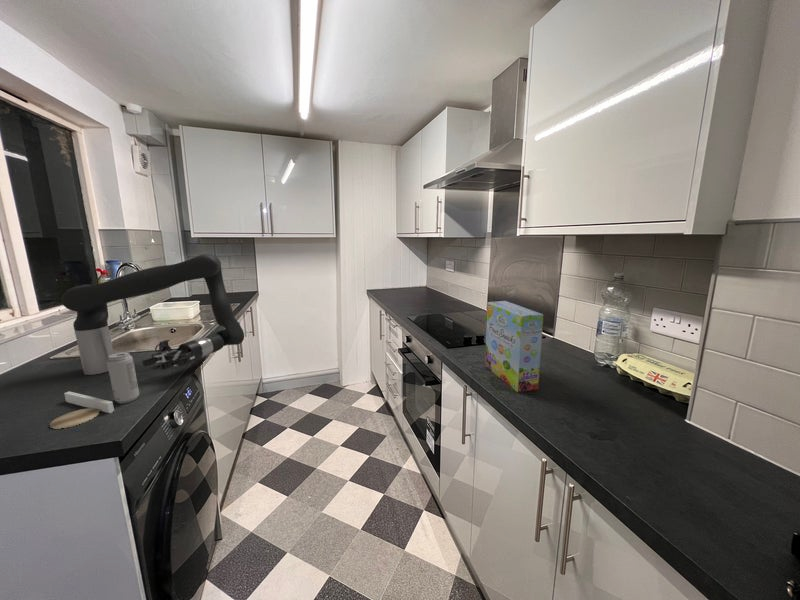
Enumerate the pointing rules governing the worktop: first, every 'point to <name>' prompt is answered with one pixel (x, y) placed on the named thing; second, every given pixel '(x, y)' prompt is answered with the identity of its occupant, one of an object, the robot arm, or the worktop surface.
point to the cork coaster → (74, 418)
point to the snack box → (514, 344)
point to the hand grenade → (163, 347)
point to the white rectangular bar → (89, 402)
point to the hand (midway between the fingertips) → (152, 365)
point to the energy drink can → (123, 377)
